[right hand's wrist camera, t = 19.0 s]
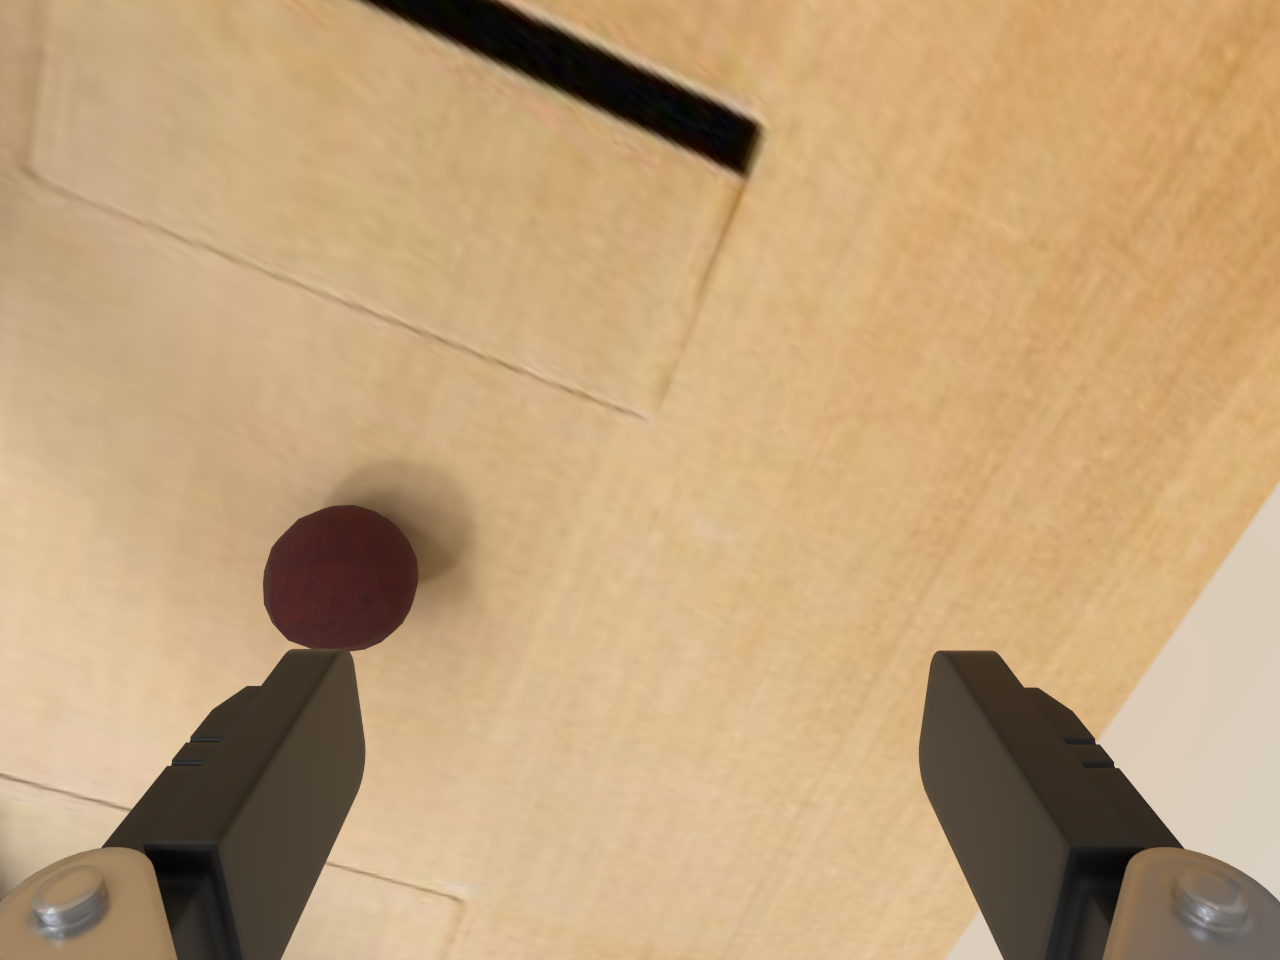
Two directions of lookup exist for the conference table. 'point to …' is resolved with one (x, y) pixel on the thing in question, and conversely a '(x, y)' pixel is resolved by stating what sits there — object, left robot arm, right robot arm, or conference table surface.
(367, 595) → the dark red ball
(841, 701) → the conference table surface
